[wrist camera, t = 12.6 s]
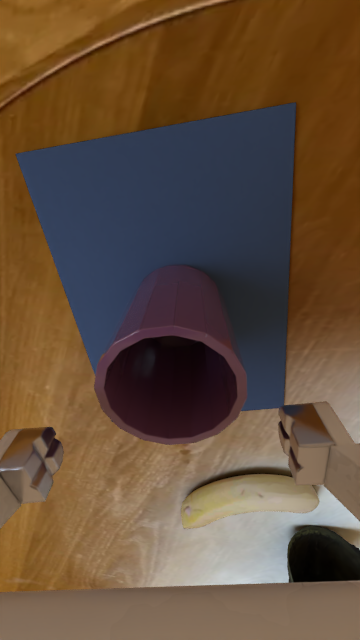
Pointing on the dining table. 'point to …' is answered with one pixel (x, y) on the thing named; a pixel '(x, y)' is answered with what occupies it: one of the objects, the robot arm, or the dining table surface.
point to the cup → (173, 361)
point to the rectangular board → (177, 225)
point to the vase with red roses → (322, 557)
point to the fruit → (246, 498)
